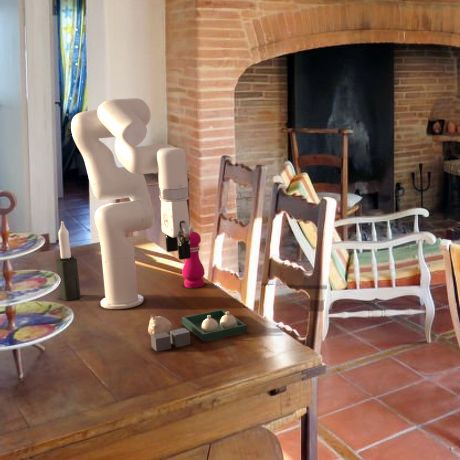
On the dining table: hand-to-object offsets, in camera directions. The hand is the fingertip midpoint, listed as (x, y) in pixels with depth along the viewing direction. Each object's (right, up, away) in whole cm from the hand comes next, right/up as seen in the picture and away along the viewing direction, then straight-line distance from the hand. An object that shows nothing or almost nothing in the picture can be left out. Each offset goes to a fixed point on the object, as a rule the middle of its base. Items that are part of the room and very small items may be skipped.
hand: (178, 255), depth 219 cm
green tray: (+8, -21, +8) cm, 24 cm away
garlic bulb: (-5, -23, +2) cm, 24 cm away
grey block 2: (+2, -24, -4) cm, 25 cm away
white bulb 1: (+8, -22, +3) cm, 24 cm away
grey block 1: (-2, -25, -7) cm, 26 cm away
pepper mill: (-9, -12, +48) cm, 50 cm away
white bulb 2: (+12, -21, +6) cm, 25 cm away
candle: (-45, -15, +35) cm, 59 cm away
